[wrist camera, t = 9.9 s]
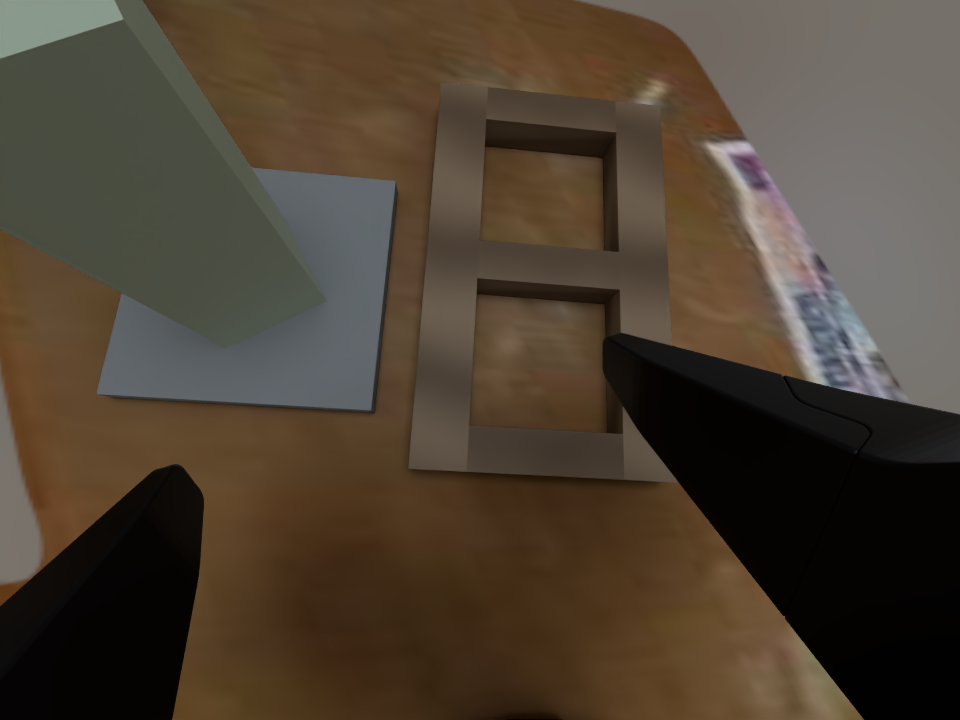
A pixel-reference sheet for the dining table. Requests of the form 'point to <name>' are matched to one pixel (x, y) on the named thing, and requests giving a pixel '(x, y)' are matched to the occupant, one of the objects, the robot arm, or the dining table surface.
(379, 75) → the dining table surface
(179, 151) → the sage block
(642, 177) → the puzzle board
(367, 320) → the grey mat
